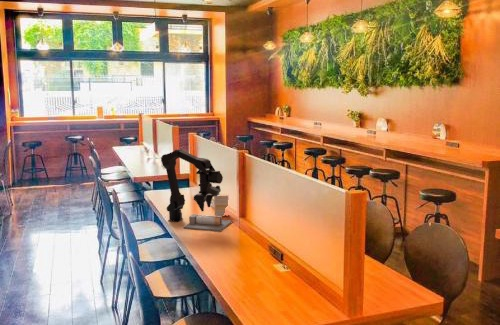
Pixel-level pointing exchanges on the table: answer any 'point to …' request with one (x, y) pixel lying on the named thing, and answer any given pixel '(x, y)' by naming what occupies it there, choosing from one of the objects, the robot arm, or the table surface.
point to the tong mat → (205, 225)
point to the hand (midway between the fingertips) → (205, 209)
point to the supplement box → (220, 204)
